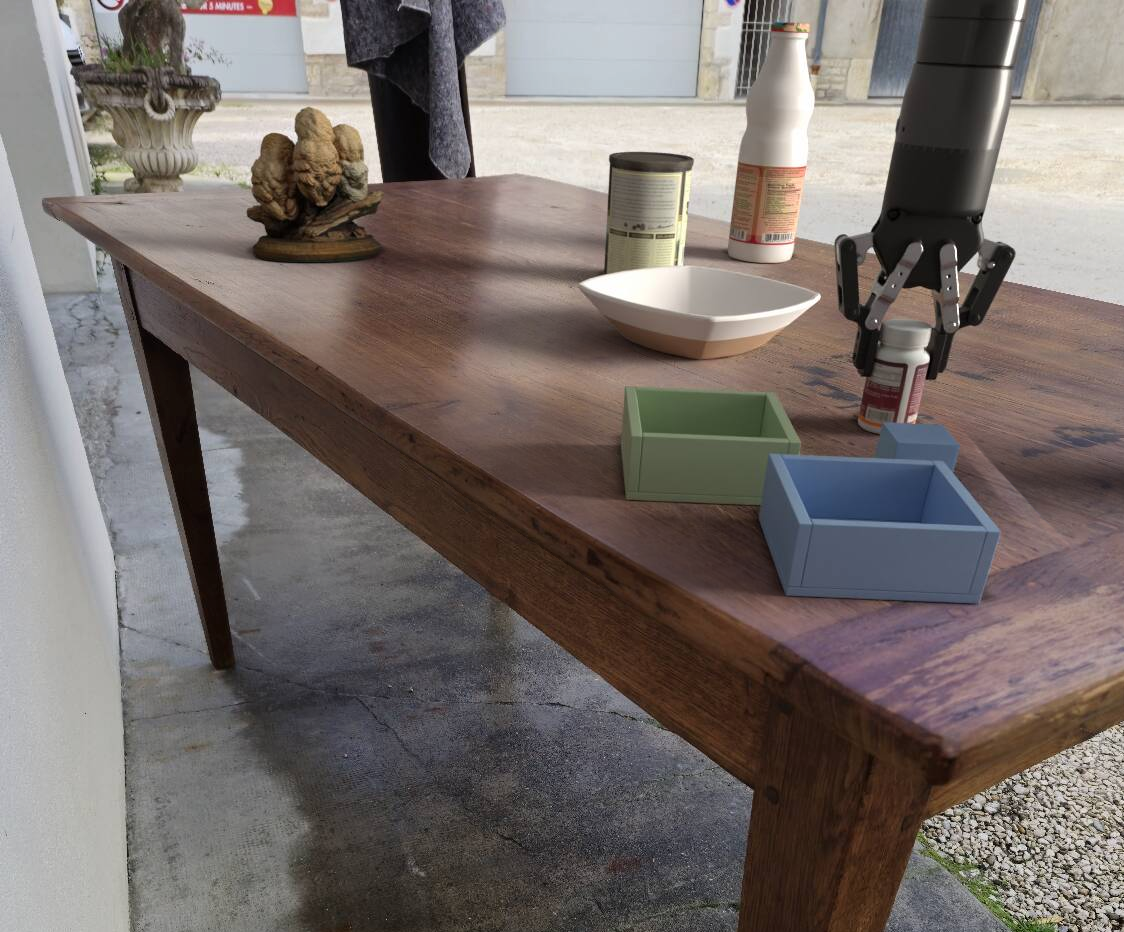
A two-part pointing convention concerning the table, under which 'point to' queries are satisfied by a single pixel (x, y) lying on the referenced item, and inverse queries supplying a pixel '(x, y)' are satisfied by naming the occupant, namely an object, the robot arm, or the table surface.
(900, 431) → the blue block
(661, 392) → the green bin
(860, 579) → the blue bin
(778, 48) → the fruit juice
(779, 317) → the bowl
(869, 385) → the pill bottle
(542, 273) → the table surface
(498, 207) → the table surface
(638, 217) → the coffee can
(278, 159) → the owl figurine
